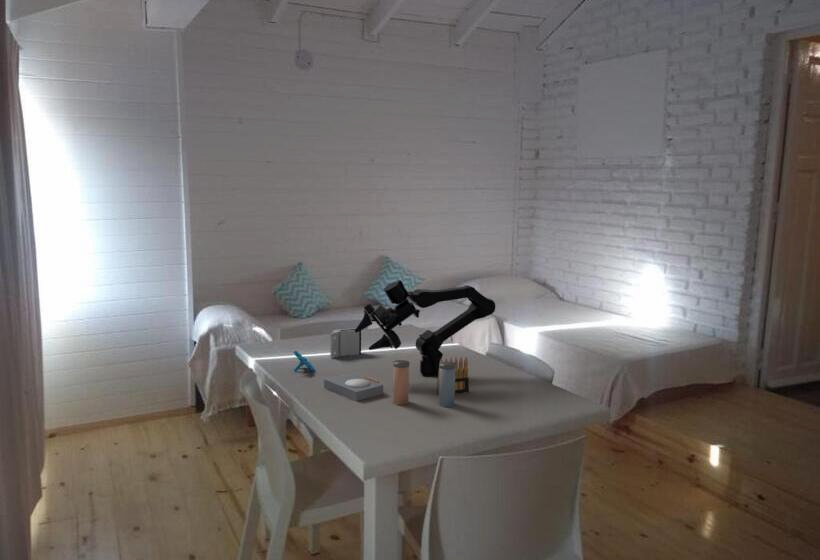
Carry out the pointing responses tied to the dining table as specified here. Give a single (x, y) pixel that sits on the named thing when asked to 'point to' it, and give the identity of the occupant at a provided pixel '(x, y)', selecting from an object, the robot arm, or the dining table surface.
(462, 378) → the ammunition clip
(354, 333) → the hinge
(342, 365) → the dining table surface
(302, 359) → the gear
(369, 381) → the dock unit
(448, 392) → the cylinder
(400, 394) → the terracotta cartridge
